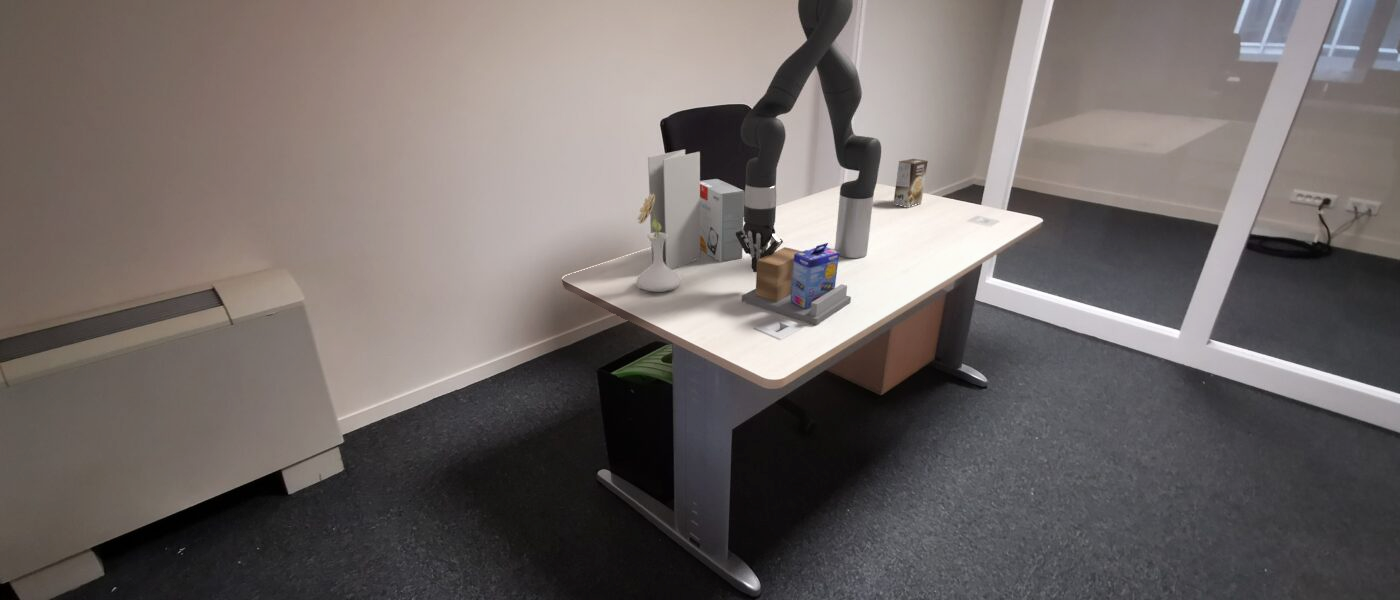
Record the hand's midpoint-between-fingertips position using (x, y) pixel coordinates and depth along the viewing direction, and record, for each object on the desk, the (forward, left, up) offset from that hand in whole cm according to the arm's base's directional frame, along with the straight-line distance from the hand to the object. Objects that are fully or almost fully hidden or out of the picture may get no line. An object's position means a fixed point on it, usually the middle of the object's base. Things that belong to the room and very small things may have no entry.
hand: (757, 271), depth 154 cm
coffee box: (-102, -4, -5) cm, 102 cm away
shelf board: (0, +12, -5) cm, 13 cm away
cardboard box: (0, +7, -3) cm, 8 cm away
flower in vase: (+15, -20, -5) cm, 25 cm away
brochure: (-2, -29, -5) cm, 29 cm away
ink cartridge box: (0, +16, -4) cm, 16 cm away
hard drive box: (-16, -25, -5) cm, 30 cm away
